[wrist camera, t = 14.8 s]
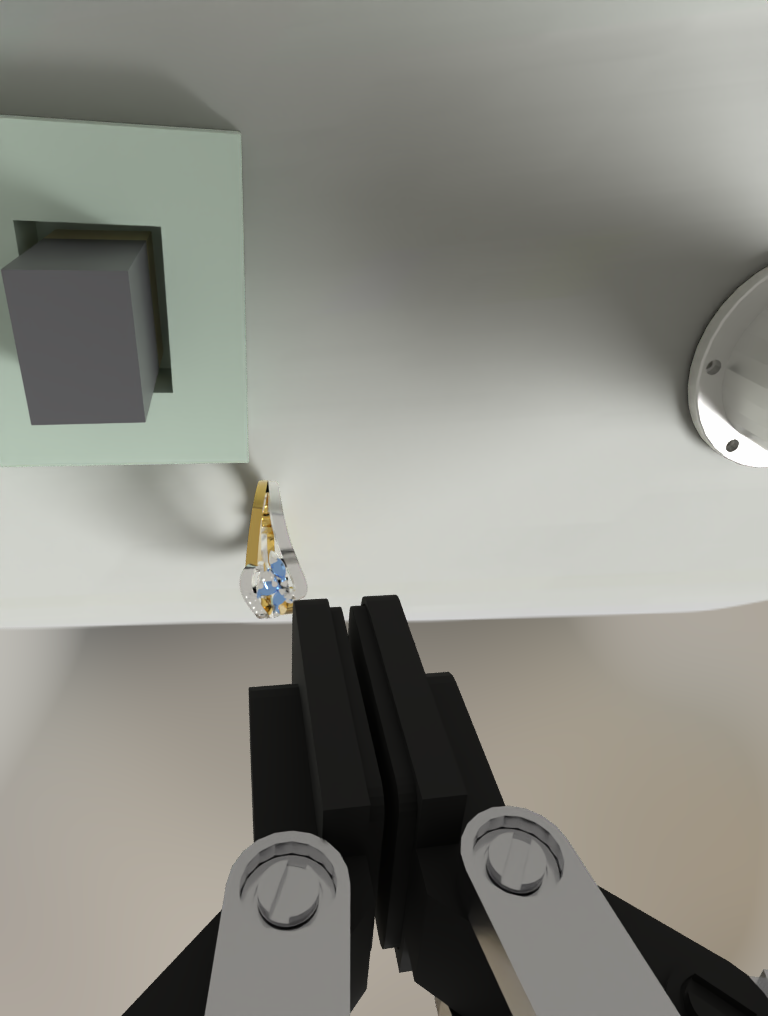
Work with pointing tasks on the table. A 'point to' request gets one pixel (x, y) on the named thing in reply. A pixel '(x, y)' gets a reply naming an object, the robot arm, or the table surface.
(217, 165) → the socket
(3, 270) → the plug
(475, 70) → the table surface
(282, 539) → the ring
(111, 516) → the table surface
